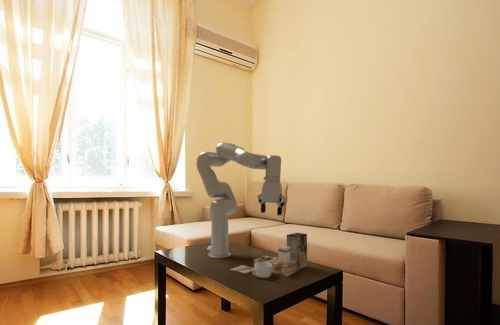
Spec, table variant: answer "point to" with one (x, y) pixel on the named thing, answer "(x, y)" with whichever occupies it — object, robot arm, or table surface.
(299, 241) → the coffee box
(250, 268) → the mat
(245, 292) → the table surface
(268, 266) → the teacup
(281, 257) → the plug
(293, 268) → the socket board
